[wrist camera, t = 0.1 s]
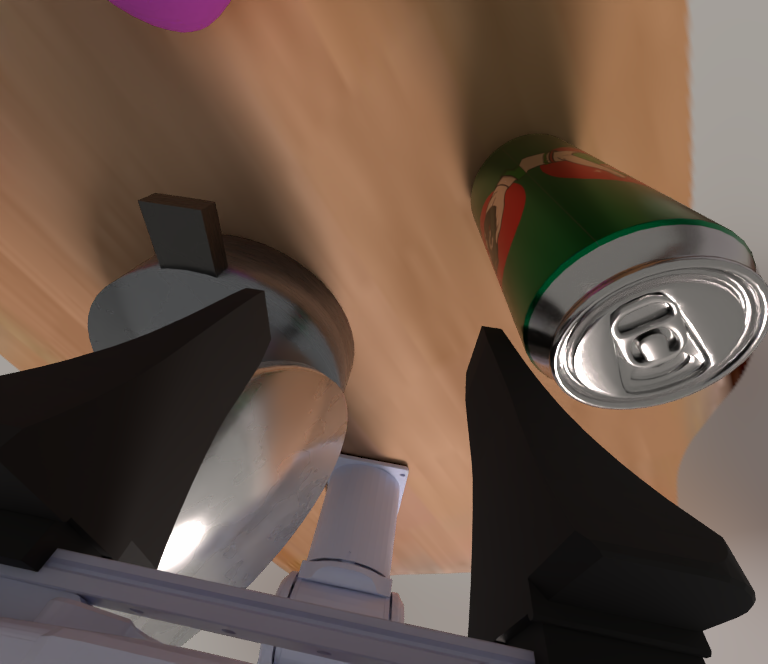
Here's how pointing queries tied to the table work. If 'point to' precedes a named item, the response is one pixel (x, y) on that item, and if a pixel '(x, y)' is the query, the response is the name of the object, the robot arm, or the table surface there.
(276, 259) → the cooker body
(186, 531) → the lid
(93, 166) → the table surface
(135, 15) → the donut
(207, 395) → the robot arm
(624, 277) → the soda can
